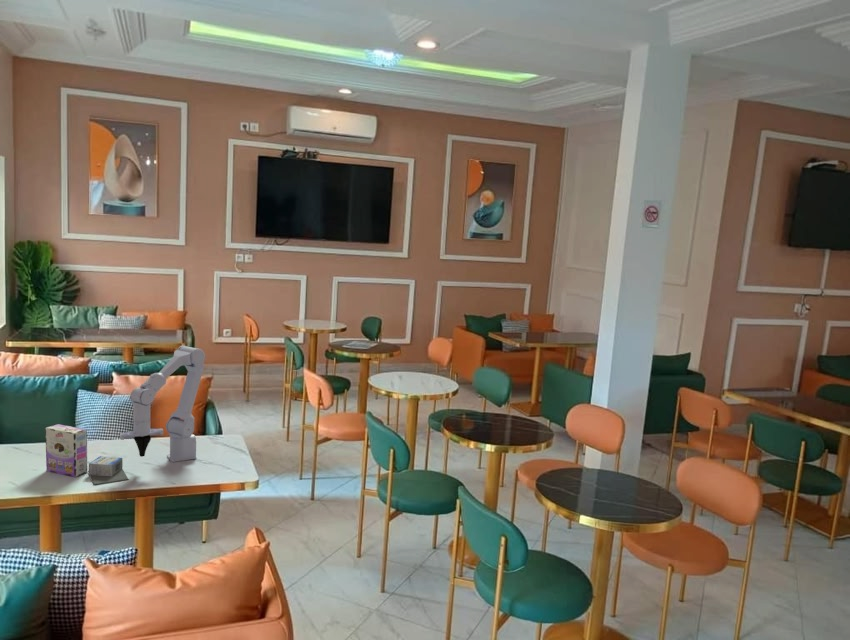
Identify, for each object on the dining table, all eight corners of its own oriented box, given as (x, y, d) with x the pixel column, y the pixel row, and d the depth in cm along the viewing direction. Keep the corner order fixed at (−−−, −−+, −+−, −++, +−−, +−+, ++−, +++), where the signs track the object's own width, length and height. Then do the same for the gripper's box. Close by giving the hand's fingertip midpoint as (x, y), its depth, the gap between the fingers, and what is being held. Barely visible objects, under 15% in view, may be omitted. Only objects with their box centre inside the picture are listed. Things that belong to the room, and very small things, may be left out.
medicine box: (112, 465, 234) (88, 463, 234) (112, 476, 235) (88, 475, 235) (122, 457, 242) (99, 455, 242) (122, 469, 242) (99, 467, 242)
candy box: (88, 472, 238) (87, 428, 236) (74, 478, 233) (74, 433, 230) (59, 466, 242) (58, 423, 240) (45, 471, 237) (44, 427, 235)
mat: (120, 467, 245) (120, 466, 245) (128, 479, 234) (128, 478, 234) (88, 471, 239) (88, 470, 239) (94, 485, 227) (94, 484, 227)
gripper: (160, 414, 247) (160, 449, 249) (118, 419, 239) (118, 455, 241) (164, 419, 242) (164, 455, 244) (122, 424, 233) (122, 461, 235)
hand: (142, 455), depth 242 cm, fingers closed
